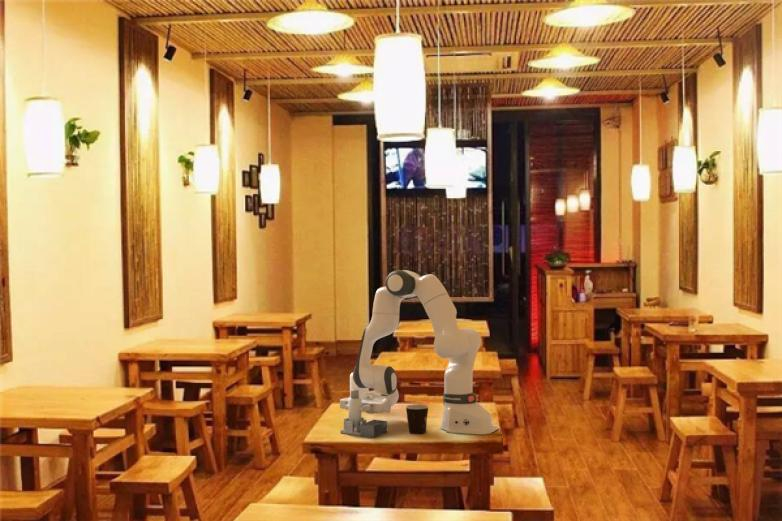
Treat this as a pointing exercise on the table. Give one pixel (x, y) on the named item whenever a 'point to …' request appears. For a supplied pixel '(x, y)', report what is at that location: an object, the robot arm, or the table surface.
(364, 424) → the bottle holder
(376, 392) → the robot arm
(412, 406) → the coffee mug
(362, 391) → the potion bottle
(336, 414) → the table surface
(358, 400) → the white lotion bottle
